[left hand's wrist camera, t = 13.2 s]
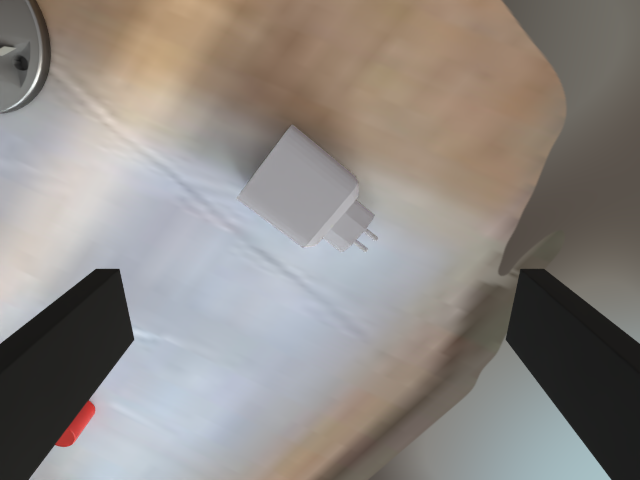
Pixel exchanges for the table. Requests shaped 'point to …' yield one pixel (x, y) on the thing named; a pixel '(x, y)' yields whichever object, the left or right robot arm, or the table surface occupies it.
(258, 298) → the table surface
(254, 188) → the charger
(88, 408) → the can
